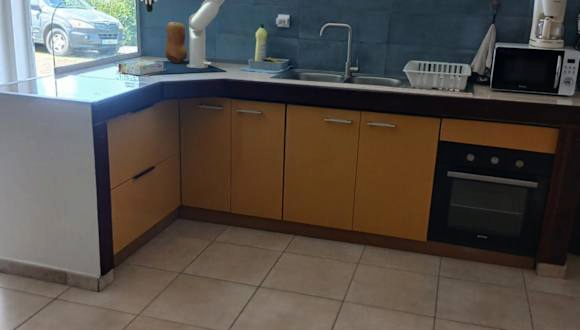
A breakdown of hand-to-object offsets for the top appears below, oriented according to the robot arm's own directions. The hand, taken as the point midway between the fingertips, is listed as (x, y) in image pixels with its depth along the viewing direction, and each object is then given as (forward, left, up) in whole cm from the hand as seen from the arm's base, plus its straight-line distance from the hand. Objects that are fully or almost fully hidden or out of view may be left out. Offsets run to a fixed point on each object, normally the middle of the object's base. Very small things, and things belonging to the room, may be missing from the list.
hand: (149, 11), depth 346 cm
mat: (-7, +19, -32) cm, 38 cm away
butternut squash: (-6, -22, -32) cm, 39 cm away
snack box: (+3, +20, -29) cm, 35 cm away
